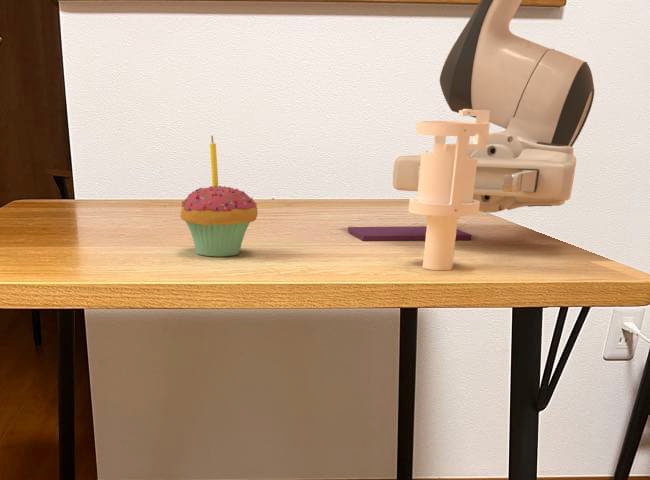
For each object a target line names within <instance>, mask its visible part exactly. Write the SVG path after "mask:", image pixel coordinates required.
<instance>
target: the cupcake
mask: <svg viewBox="0 0 650 480" xmlns="http://www.w3.org/2000/svg"><path fill="white" fill-rule="evenodd" d="M210 140H211V143H209V153H210V168H211V186H209V187H208V186H207V187H199V188H197V189H195V190H194V191H192V192H191V193H189V194H188V195H187V197H186V198H185V199H184V200H182V202H181V205H180V207H181V210H180V219H181V220H183V221H184V222H185V223H186V225H187V227H188V229H189V232H190V233H191V238H192V241H193V244H194V246H195V251H196V253H197V254H198V255H199V256H200V255H201V256H205V257H218V258H221V257H234V256H236V255H238V254H240V252H241V247H242V244H243V240H244V237H245V234H246V232H247V229H248V227H249V225H250V223H253V222H255V221H256V220H257V218H258V203H256V202H255V200H253V199H254V198H253V197H250V196H249V195H248V194H247V193H246V192H245V191H244V190H239V188H234V187H230V186H228V187H227V186H226V185H224V186H222V185H219V176H218V175H219V173H218V157H217V155H218V154H217V144H216V143H214V135H210Z"/></svg>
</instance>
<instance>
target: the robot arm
mask: <svg viewBox="0 0 650 480" xmlns="http://www.w3.org/2000/svg"><path fill="white" fill-rule="evenodd" d="M522 1H523V0H479V1H478V3H477V6H476V7H475V9H474V11H473V13H472V14H471V17H469V19H468V21H467V23H466V25H465V26H464V27H463V29H462V30H461V32H460V34H459V36H458V38H457V39H456V41H455V42H454V44H453V45H452V47H451V48H450V50H449V51H448V53H447V55H446V58H445V60H444V62H443V65H442V68H441V72H440V75H439V86H440V89H441V92H442V95H443V96H444V99H445V102H446V103H447V106H448V107H449V109H450V110H451V112H455V113H458V114H459V110H463V109H472V110H488V111H490V117H489V123H490V124H492V125H495V126H498V127H500V128H502V129H505V130H503V131H496V132H489V134H488V136H487V142H486V150H468V157H467V159H469V157H477V158H478V159H477V167H476V176H475V184H474V192H473V200H477V201H480V206H479V212H482V213H498V212H502V211H506V210H507V211H511V210H514V209H518V208H523V207H528V208H529V207H531V208H532V207H559V206H562V205H564V204H565V203H566V201H569V200H570V199H571V197H572V190H573V185H574V178H575V172H576V166H577V158H576V156H575V155H574V147H573V146H574V145H575V143H576V141H577V140H578V139H579V136H580V134H581V132H582V130H583V129H584V126H585V124H586V122H587V119H588V117H589V114H590V112H591V109H592V106H593V103H594V98H595V85H594V83H595V82H594V80H593V79H594V78H593V74H592V70H591V67H590V66H589V63H588V62H587V61H584V60H582V59H579V58H578V57H574V56H572V55H570V54H567V53H565V52H562V51H559V50H556V49H554V48H550V47H546V46H544V45H542V44H539V43H536V42H534V41H531V40H529V39H526V38H523V37H521V36H518V35H515V34H514V33H512V32H511V30H510V23H511V21H512V19H513V18H514V16H515V14H516V13H517V10H518V9H519V7H520V5H521V3H522ZM470 117H471V118H475V119H476V116H470ZM470 144H473V141H472V142H471V143H470ZM420 162H421V154H412V155H402V156H401V155H400V156H397V157H396V158H395V160H394V162H393V163H394V164H393V172H392V186H393V188H394V189H395V190H398V191H404V192H405V191H406V192H418V184H419V173H420Z"/></svg>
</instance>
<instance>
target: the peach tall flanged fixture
mask: <svg viewBox="0 0 650 480" xmlns="http://www.w3.org/2000/svg"><path fill="white" fill-rule="evenodd" d="M471 116H476V118H475V121H458V120H457V121H456V120H452V121H451V120H450V121H449V120H421V121H420V120H419V121H417V120H416V123H415V133H414V134H415V135H419V136H433V144H432V152H429V151H428V150H422V151H421V153H420V155H421V162H420V173H419V184H418V191H417V196H416V197H412V198H409V199H408V200H409V201H408V212H409V213H411V214H416V215H422V216H425V218H426V220H427V221H426V226H427V229H426V239H425V240H424V250H423V260H422V269H425V270H429V271H450V270H452V269H453V264H454V256H455V255H454V254H455V246H456V240H455V239H456V229H458V221H459V219H460V218H461V217H472V216H477V215H479V214H480V211H479V206H480V201H477V200H473V192H474V184H475V176H476V167H477V159H478V158H477V157H469V159H467V157H468V150H486V142H487V136H488V134H489V133H490V126H491V123H490V122H489V117H490V111H488V110H472V109H463V110H459V113H458V117H471ZM447 137H456V143H446V141H447ZM471 137H473V139H472V142H473V144H471V143H470V139H471Z"/></svg>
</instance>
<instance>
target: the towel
mask: <svg viewBox="0 0 650 480" xmlns="http://www.w3.org/2000/svg"><path fill="white" fill-rule="evenodd" d="M426 229H427V225H426V226H424V225H423V226H348V227H347V233H349V234H351V235H353V236H355V237H356V238H358V239H360V240H361V241H363V242H368V241H369V242H370V241H372V242H374V241H376V242H379V241H386V242H388V241H393V242H394V241H425V239H426ZM471 240H472V234H470V233H468V232H466V231H463V230H460V229H458V228H457V229H456V239H455V241H471Z"/></svg>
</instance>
